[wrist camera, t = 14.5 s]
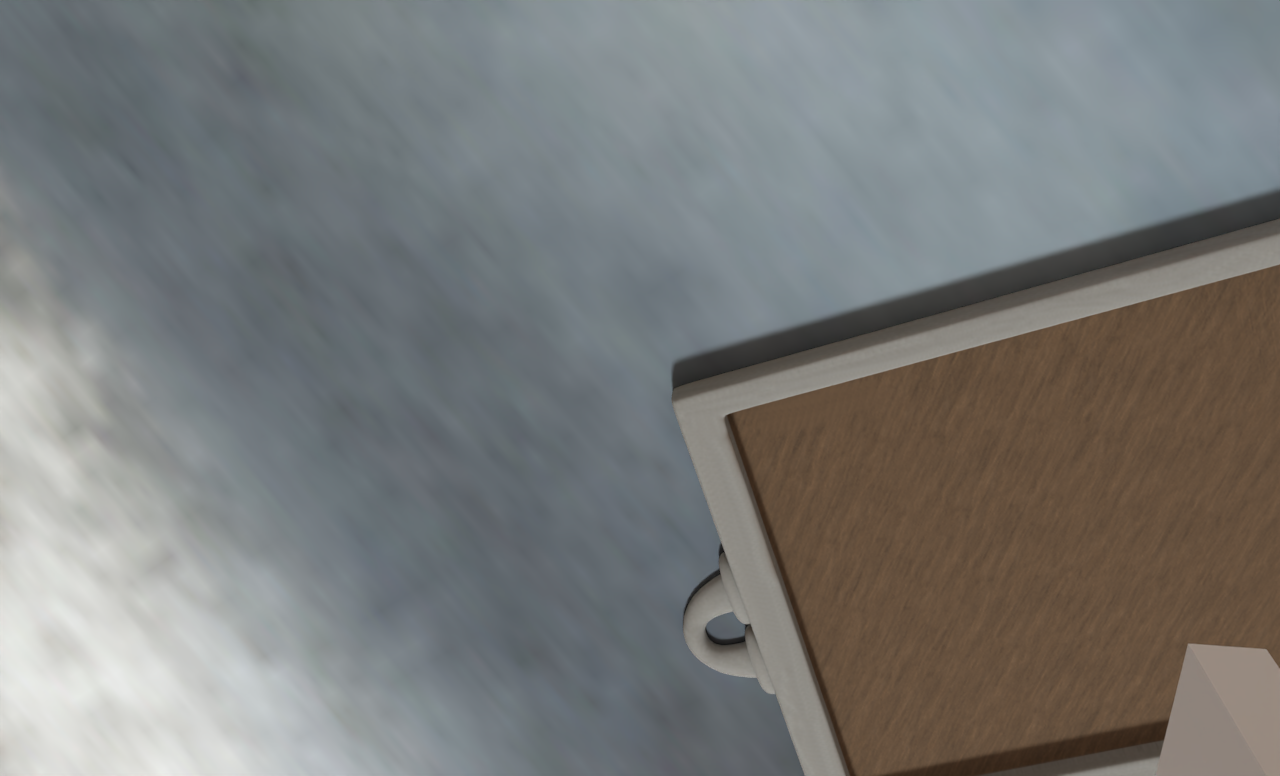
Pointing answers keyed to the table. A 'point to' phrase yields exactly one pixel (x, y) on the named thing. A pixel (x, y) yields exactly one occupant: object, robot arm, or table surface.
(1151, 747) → the grey rectangular frame
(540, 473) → the table surface
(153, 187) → the table surface
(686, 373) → the table surface
